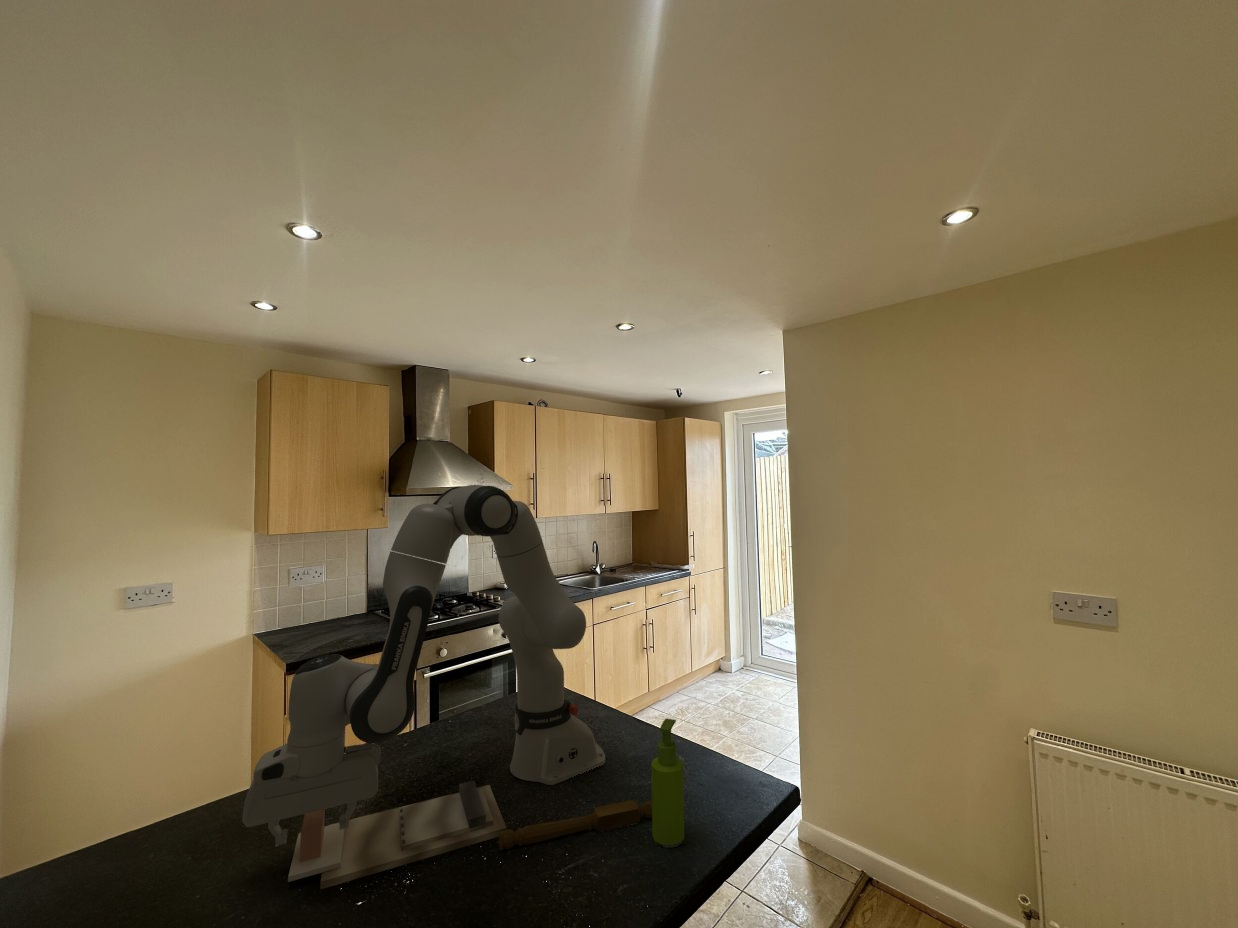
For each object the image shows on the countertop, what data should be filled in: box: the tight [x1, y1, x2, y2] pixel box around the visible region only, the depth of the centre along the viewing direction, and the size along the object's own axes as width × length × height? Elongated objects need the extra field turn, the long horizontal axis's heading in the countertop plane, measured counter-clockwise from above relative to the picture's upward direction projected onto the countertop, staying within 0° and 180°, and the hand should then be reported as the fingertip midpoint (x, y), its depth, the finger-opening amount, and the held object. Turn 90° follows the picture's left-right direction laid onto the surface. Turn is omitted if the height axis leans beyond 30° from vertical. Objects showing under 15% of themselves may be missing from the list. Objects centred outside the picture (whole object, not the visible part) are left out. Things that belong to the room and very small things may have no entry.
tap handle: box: [498, 799, 652, 851], centre depth 94 cm, size 3×3×30 cm
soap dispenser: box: [650, 718, 685, 845], centre depth 93 cm, size 6×7×20 cm
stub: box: [287, 809, 345, 883], centre depth 87 cm, size 7×12×6 cm, turn 26°
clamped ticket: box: [319, 780, 507, 890], centre depth 94 cm, size 30×16×4 cm, turn 116°
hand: (313, 835), depth 87 cm, fingers open, 8 cm apart
